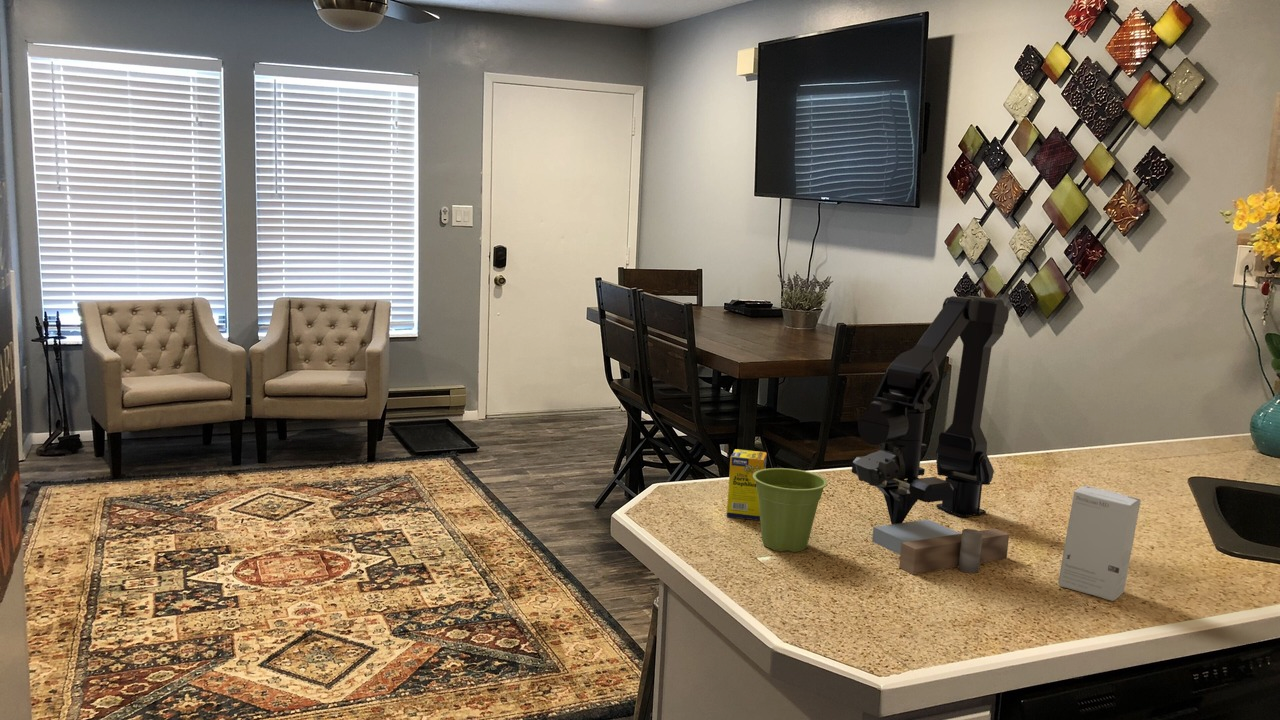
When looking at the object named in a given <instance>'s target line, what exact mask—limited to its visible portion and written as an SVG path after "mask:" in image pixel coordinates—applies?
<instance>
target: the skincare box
mask: <svg viewBox="0 0 1280 720" xmlns="http://www.w3.org/2000/svg"><path fill="white" fill-rule="evenodd" d="M1071 501H1072V502H1071V507H1070V512H1069V518H1068V525H1067V531H1066V534H1065V535H1066V536H1065V541H1064V542H1065V543H1064V548H1063V552H1062V558H1061V559H1062V560H1061V564H1060V569H1059V575H1058V576H1059V577H1058V586H1059V587H1061V588H1065V589H1070V590H1073V591H1075V592H1080V593H1083V594H1087V595H1091V596H1095V597H1098V598H1101V599H1105V600H1107V601H1113V602H1114V601H1116V600H1117V599H1118V598H1119V597H1120V596H1122V594H1124V592H1125V588H1126V583H1127V578H1128V573H1129V572H1128V571H1129V566H1130V561H1131V555H1132V551H1133V543H1134V540H1135V534H1136V527H1137V522H1138V518H1139V512H1140V507H1141V501H1142V500H1141V498H1138V497H1134V496H1131V495H1126V494H1123V493H1120V492H1119V493H1118V492H1116V491H1112V490H1109V489H1102V488H1098V487H1094V486H1089V485H1083V486H1082V487H1080V488H1079V487H1078V489H1075V490H1074V492H1073V497H1072V500H1071Z"/></svg>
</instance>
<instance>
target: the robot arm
mask: <svg viewBox="0 0 1280 720" xmlns="http://www.w3.org/2000/svg"><path fill="white" fill-rule="evenodd" d="M1009 314H1010V312H1009V307H1008V306H1006V305H1005V302H1004V300H1003V299H1001V298H993V297H985V296H984V297H983V296H975V295H966V296H965V297H962V296H954V295H953V296H952V295H951V296H948V297H946V298H945V299H944V301H943V304H942V308H941V310H940V311H939V313H938V314H937V315H936V317H935V318H934V319H933V321H932V322H931V323H930V325H929V326H928V328H927V330H925V332H924V333H923V334H922V336H921V338H920V339H919V340H918V342H917V343H916V345H915V346H914V347H912V348H911V349H909V350H906V351H904V352H902V353H900V354H899V355H898V356H897V357H895V359H894V360H893V361H892V362H891V363H890V364H889V366H888V367H887V368H886V370H885V373H884V374H883V376H882V379H881V381H880V382H879V385H878V387H877V389H876V391H875V394H874V396H873V398H872V400H873V401H871V403H870V409H867V410H865V411H864V412H863V413H862V414H861V415H860V417H859V419H858V420H857V431H858V434H859V436H860V438H861V439H862V440H863V441H864V442H865V443H866V444H867V445H868V444H869V445H871V446H878V450H877V451H875V452H871V453H868V454H867V455H864V456H863V455H861V456H856V458H855V459H854V460H853V461H852V464H851V473H852V474H854V475H857V478H858V481H859V482H863V483H864V482H865V483H867V484H869V486H872V487H876V488H877V489H878V490H879V492H881V493H882V495H883V497H884V500H885V504H886V507H887V511H888V515H889V516H888V517H889V519H890V525H891V524H898V523H904V521H905V519H906V518H907V516H908V515H909V513H910V511H911V510H912V509H913V507H914V506H915V504H916V503H918V501H921V502H922V503H935V502H941V503H937V504H936V505H935V507H936V508H938V509H940V510H943V511H946V512H948V513H950V514H953V515H955V516H957V517H961V518H962V517H970V516H971V517H972V516H977V515H984V514H987V511H986V509H982V508H980V507H981V498H982V490H983V486H985V485H987V486H989V485H990V484H991V482H992V480H993V478H994V473H995V470H994V467H993V466H992V463H991V461H990V459H989V457H988V454H987V450H988V442H987V440H986V437H985V434H984V432H983V430H982V428H981V422H982V417H983V415H982V414H983V410H984V409H983V408H984V402H985V395H986V388H987V381H988V373H989V369H990V360H991V353H992V349H993V347H994V345H995V344H997V342H998V341H999V340H1000V338H1002V337H1003V336H1004V332H1005V327H1006V324H1007V323H1008V319H1009ZM958 338H960V340H961V342H962V352H961V360H960V366H959V373H958V379H957V380H958V381H957V386H956V387H957V388H956V394H955V401H954V410H953V415H952V420H951V421H952V422H951V424H950V425H949V426H948V428H947V429H946V430H945V431H941V432H940V434H939V436H938V445H937V449H936V453H935V459H936V463H935V464H936V470H937V476H943V477H945V480H944V479H942V478H939V477H936V476H931V477H930V476H929V477H921V478H920V477H919V476H924V475H925V472H926V471H925V470H926V469H925V468H923V467H921V456H922V452H927V450H928V445H927V444H926V443H923V437H924V436H923V434H924V427H925V426H924V425H925V419H926V418H925V417H926V410H930V409H931V407H932V405H931V404H930V402H929V401H928V400H929V398H930V397H931V396H932V394H933V392H934V391H935V390H936V387H937V383H938V382H939V380H940V375H939V367H940V365H941V363H942V362H943V360H944V359H945V358H946V356H947V354H948V353H949V351H950V350H951V349H952V347H953V346H954V344H955V343H956V342H957V340H958Z"/></svg>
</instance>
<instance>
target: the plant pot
mask: <svg viewBox="0 0 1280 720" xmlns="http://www.w3.org/2000/svg"><path fill="white" fill-rule="evenodd" d="M753 479H754V480H755V481H756V487H757V493H758V497H759V509H760V520H759V521H760V532H761V533H760V534H761V542H762V545H764V546H765V547H766V548H769V549H771V550H774V551H777V552H785V551H789V552H791V553H797V552H801V551H803V550H804V551H805V549H806V548H807V547H808V544H809V540H810V536H811V532H812V528H813V525H814V524H813V523H814V521H815V516H816V514H817V513H816V512H817V509H818V505H819V502H820V500H821V498H822V495H823V491H824V488H826V487H827V485H828V480H827V479H826V478H825V477H823V476H822V475H819V474H818V473H814V472H810V471H806V470H802V469H796V468H795V469H794V468H784V467H779V468H778V467H774V468H773V467H772V468H766V469H763V470H759V471H756V472H755V473H754V474H753Z"/></svg>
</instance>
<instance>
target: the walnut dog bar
mask: <svg viewBox="0 0 1280 720" xmlns="http://www.w3.org/2000/svg"><path fill="white" fill-rule="evenodd" d="M1009 539H1010V534H1009V533H1007V532H1005V531H1003V530H1000V529H997V528H988V529H982V530H978V529H977V530H976V529H973V528H972V529H971V528H965V529H962V531H961V534H955V535H949V536H942V537H936V538H929V539H923V540H916V541H910V542H903V543H901V553H900V556H899V557H900V558H899V565H898V568H899V569H901V570H903V571H905V572H907V573H909V574H911V575H917V574H924V573H929V572H935V571H941V570H947V569H952V568H957V569H958V570H959V571H961V572H965V573H968V574H975V573H979V569H980V563H981V564H982V563H987V562H991V561H998V560H1002V559H1004V560H1005V559H1007V558H1008V549H1009V541H1010V540H1009Z"/></svg>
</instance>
